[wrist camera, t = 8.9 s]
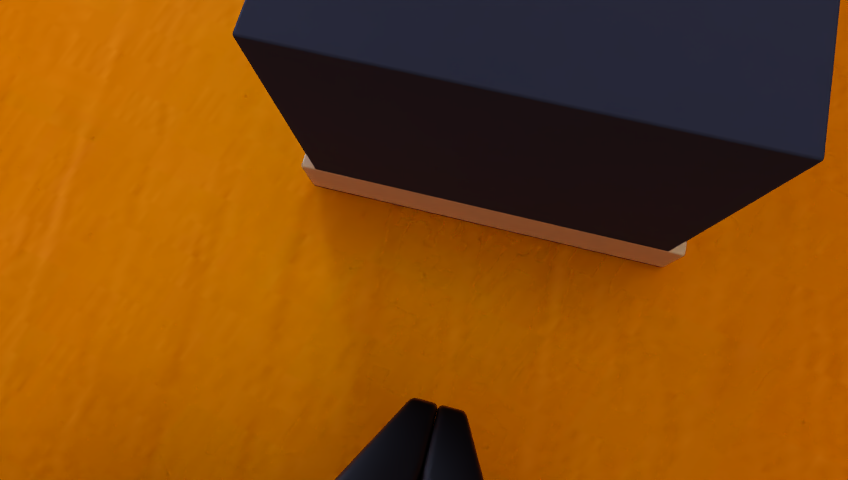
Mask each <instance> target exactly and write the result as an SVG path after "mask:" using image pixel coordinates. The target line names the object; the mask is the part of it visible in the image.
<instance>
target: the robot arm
mask: <svg viewBox="0 0 848 480" xmlns="http://www.w3.org/2000/svg"><path fill="white" fill-rule="evenodd" d="M436 413H437V414H436ZM435 417H436V418H435ZM434 421H435V422H434ZM433 425H434V426H433ZM335 480H483V476H482V472H481V468H480V465H479V461H478V457H477V453H476V449H475V445H474V442H473V438H472V434H471V430H470V426H469V422H468V419H467V416H466V414H465V412H464V411H462V410H459V409H455V408H451V407H448V406H443V405H442V406H440V407H439V408H438V410H437V405H436V404H435V403H433V402H429V401H425V400H422V399H418V398H412V399H410V400H409V401H408V402H407V403H406V404H405V405H404V406H403V407H402V408H401V409H400V410H399V411H398V413H397V414H396V415H395V416H394V417H393V418H392V419H391V420H390V421H389V422H388V423H387V424H386V425H385V426H384V428H383V429H382V430H381V431H380V432H379V433H378V434H377V435H376V436H375V437H374V438H373V439H372V440H371V441H370V442H369V444H368V445H367V446H366V447H365V448H364V449H363V450H362V451H361V452H360V453H359V454H358V455H357V456H356V457H355V459H354V460H353V461H352V462H351V463H350V464H349V465H348V466H347V467H346V468H345V469H344V470H343V471H342V472H341V474H340V475H339V476H338V477H337V478H336V479H335Z"/></svg>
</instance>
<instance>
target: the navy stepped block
mask: <svg viewBox="0 0 848 480" xmlns="http://www.w3.org/2000/svg"><path fill="white" fill-rule="evenodd" d="M839 6H840V0H245V2H244V5H243V7H242V10H241V13H240V15H239V18H238V21H237V23H236V26H235V29H234V31H233V37H234V38H235V40H236V41H237V43H238V45H239V46H240V48H241V50H242V51H243V53H244V54H245V56H246V58H247V59H248V61H249V62H250V64H251V66H252V67H253V69H254V71H255V72H256V74H257V75H258V77H259V79H260V80H261V82H262V83H263V85H264V87H265V88H266V90H267V92H268V93H269V95H270V96H271V98H272V100H273V101H274V103H275V105H276V106H277V108H278V109H279V111H280V113H281V114H282V116H283V117H284V119H285V121H286V122H287V124H288V126H289V127H290V129H291V130H292V132H293V134H294V135H295V137H296V138H297V140H298V142H299V143H300V145H301V147H302V148H303V150H304V151H305V156H304V160H303V163H302V168H303V169H304V171H305V172H306V173H307V175H308V176H309V178H310V179H311V181H312V182H313V184H314V185H317V186H321V187H325V188H329V189H334V190H338V191H342V192H346V193H351V194H355V195H359V196H363V197H368V198H372V199H376V200H380V201H385V202H389V203H393V204H397V205H401V206H406V207H410V208H414V209H418V210H423V211H427V212H431V213H435V214H440V215H444V216H448V217H452V218H457V219H461V220H465V221H469V222H473V223H478V224H482V225H486V226H490V227H495V228H499V229H503V230H507V231H512V232H516V233H520V234H524V235H529V236H533V237H537V238H541V239H545V240H550V241H554V242H558V243H562V244H567V245H571V246H575V247H579V248H584V249H588V250H592V251H596V252H601V253H605V254H609V255H613V256H617V257H622V258H626V259H630V260H634V261H639V262H643V263H647V264H651V265H656V266H660V267H664V266H666V265H668V264H669V263H671V262H673V261H675V260H677V259H679V258H681V257H683V256H684V255H685V250H686V244H687V240H689V239H691V238H692V237H694V236H696V235H698V234H699V233H701V232H703V231H704V230H706V229H708V228H709V227H711V226H713V225H715V224H716V223H718V222H720V221H721V220H723V219H725V218H726V217H728V216H730V215H732V214H733V213H735V212H737V211H738V210H740V209H742V208H743V207H745V206H747V205H748V204H750V203H752V202H754V201H755V200H757V199H759V198H760V197H762V196H764V195H765V194H767V193H769V192H771V191H772V190H774V189H776V188H777V187H779V186H781V185H782V184H784V183H786V182H788V181H789V180H791V179H793V178H794V177H796V176H798V175H799V174H801V173H803V172H804V171H806V170H808V169H810V168H811V167H813V166H815V165H816V164H818V163H820V162H821V161H823V159H824V153H825V143H826V133H827V124H828V114H829V104H830V94H831V85H832V75H833V65H834V55H835V45H836V36H837V26H838V16H839Z"/></svg>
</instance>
